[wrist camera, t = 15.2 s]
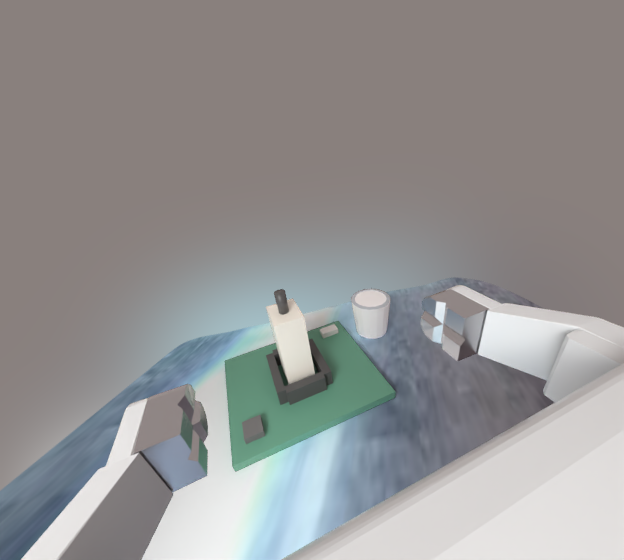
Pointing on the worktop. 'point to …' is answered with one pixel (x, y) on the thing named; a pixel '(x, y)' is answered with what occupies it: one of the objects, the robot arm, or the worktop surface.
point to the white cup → (371, 312)
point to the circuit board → (298, 394)
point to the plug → (290, 338)
